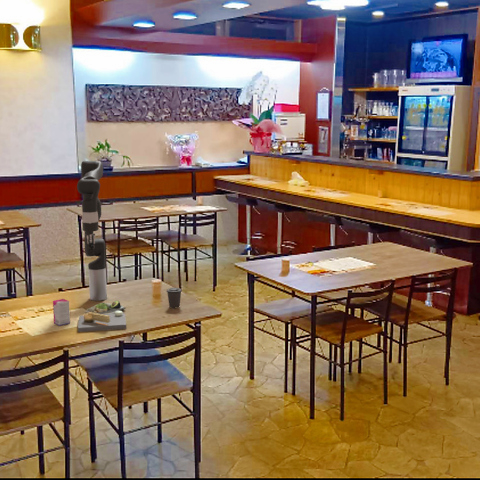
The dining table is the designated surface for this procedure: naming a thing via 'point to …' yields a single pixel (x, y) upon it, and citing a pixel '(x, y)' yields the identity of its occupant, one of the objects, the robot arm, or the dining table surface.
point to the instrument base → (103, 323)
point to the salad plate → (107, 308)
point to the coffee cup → (174, 297)
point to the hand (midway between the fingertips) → (91, 255)
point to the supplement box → (61, 312)
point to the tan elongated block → (96, 317)
